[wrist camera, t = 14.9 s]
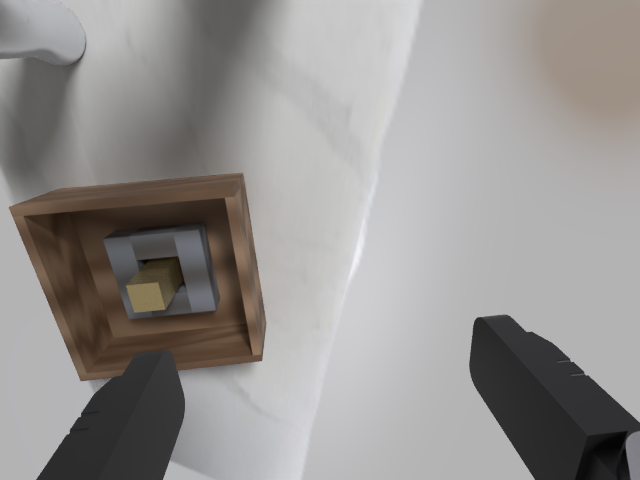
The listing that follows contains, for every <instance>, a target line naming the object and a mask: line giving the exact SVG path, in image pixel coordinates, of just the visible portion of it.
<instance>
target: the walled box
mask: <svg viewBox="0 0 640 480" xmlns="http://www.w3.org/2000/svg"><path fill="white" fill-rule="evenodd" d="M9 209H10V211H11V214H12V216H13V219H14V221H15V224H16V226H17V228H18V231H19V233H20V236H21V238H22V241H23V243H24V245H25V248H26V250H27V253H28V255H29V257H30V260H31V262H32V265H33V267H34V269H35V272H36V274H37V277H38V279H39V281H40V284H41V286H42V289H43V291H44V293H45V296H46V298H47V301H48V303H49V306H50V308H51V310H52V313H53V315H54V318H55V320H56V322H57V325H58V327H59V330H60V332H61V334H62V337H63V339H64V342H65V344H66V347H67V349H68V351H69V354H70V356H71V358H72V361H73V363H74V366H75V368H76V370H77V373H78V375H79V378H80V380H81V381H87V380H96V379H105V378H113V377H115V376H122V375H123V373H124V371H125V370H126V368H127V367H128V365H129V363H130V362H131V360H132V359H133V357H134V356H135V355H136V354H137V353H143V352H152V351H161V350H170V351H171V353H172V355H173V357H174V361H175V364H176V368H177V370H186V369H195V368H204V367H213V366H221V365H230V364H239V363H248V362H257V361H262V357H263V348H264V339H265V330H266V318H265V312H264V305H263V299H262V292H261V286H260V279H259V273H258V266H257V260H256V253H255V247H254V240H253V234H252V227H251V221H250V214H249V208H248V201H247V195H246V188H245V182H244V175H243V173H237V174H225V175H214V176H202V177H191V178H179V179H168V180H156V181H145V182H133V183H122V184H110V185H98V186H87V187H75V188H64V189H57V190H55V191H52V192H49V193H46V194H44V195H41V196H38V197H35V198H33V199H30V200H27V201H24V202H22V203H19V204H16V205H13V206H11V207H9ZM173 256H179V260H180V264H181V268H182V272H183V276H184V280H183V282H182V283H181V285H180V287H179V288H178V290H177V291H176V293H175V295H174V296H173V298H172V300H171V301H170V303H169V305H168V306H167V308H166V309H165V310H156V311H146V312H136V313H134V310H133V307H132V304H131V301H130V298H129V294H128V291H127V288H126V285H127V284H128V283H129V282H130V280H131V279H132V278H133V277H134V276H135V275H136V274H137V273H138V272H139V271H140V269H141V268H142V267H143V266H144V265H145V264H146V263H147V262H148V261H149V260H150V259H152V258H163V257H173Z"/></svg>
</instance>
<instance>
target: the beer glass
mask: <svg viewBox="0 0 640 480" xmlns="http://www.w3.org/2000/svg"><path fill="white" fill-rule="evenodd" d="M85 44H86V38H85V32H84V29H83V26H82V24H81V22H80V20H79V19H78V17H77V16H76V15H75V13H74V12H73V11H72V10H71V9H70V8H68V7H67V6H66V5H64V4H63V3H61V2H59V1H56V0H0V59H16V58H25V57H37V58H39V59H41V60H43V61H45V62H47V63H50V64H53V65H58V66H65V65H70V64H72V63H74V62H76V61H77V60H78V59H79V58H80V57H81V56H82V54H83V52H84V49H85Z"/></svg>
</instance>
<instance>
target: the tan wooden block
mask: <svg viewBox="0 0 640 480" xmlns="http://www.w3.org/2000/svg"><path fill="white" fill-rule="evenodd" d="M183 280H184V276H183V272H182V268H181V264H180V260H179V256H173V257H163V258H152V259H150V260H149V261H148V262H147V263H146V264H145V265H144V266H143V267H142V268H141V269H140V271H139V272H138V273H137V274H136V275H135V276H134V277H133V278H132V279H131V280H130V282H129V283H128V284H127V285H126V288H127V291H128V294H129V298H130V301H131V304H132V307H133V310H134V313H136V312H146V311H156V310H165V309H166V308H167V306H168V305H169V303H170V301H171V300H172V298H173V296H174V295H175V293H176V291H177V290H178V288H179V287H180V285H181V283H182V282H183Z"/></svg>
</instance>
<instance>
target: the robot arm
mask: <svg viewBox="0 0 640 480" xmlns="http://www.w3.org/2000/svg"><path fill="white" fill-rule="evenodd" d="M469 366H470V373H471V378H472V381H473V383H474V386H475V387H476V389H477V391H478V392H479V394H480V395H481V397H482V398H483V400H484V402H485V403H486V405H487V406H488V408H489V409H490V411H491V412H492V414H493V415H494V417H495V418H496V420H497V421H498V423H499V425H500V426H501V427H502V429H503V431H504V432H505V434H506V435H507V437H508V438H509V440H510V441H511V443H512V444H513V446H514V448H515V449H516V451H517V452H518V454H519V455H520V457H521V459H522V460H523V461H524V463H525V465H526V466H527V468H528V469H529V471H530V472H531V474H532V475H533V477H534V479H535V480H640V423H639V422H638V421H637V420H636V419H635V418H634V417H633V416H632V415H631V414H630V413H628V412H627V411H626V410H625V409H624V408H623V407H622V406H621V405H620V404H619V403H618V402H616V401H615V400H614V399H613V398H612V397H611V396H610V395H609V394H608V393H607V392H606V391H604V390H603V389H602V388H601V387H600V386H599V385H598V384H597V383H596V382H595V381H594V380H592V379H591V378H590V377H589V376H586V375H585V374H584V371H583V370H582V369H580V368H579V367H578V366H577V365H576V364H575V363H574V362H571V361H570V358H568V357H567V356H566V355H565V354H564V353H563V352H562V351H561V350H560V349H559V348H558V347H556V346H555V345H554V344H553V343H551V342H549V341H548V340H546V339H544V338H542V337H540V336H538V335H537V334H535V333H533V332H526V331H524V329H523V328H522V327H521V326H520V325H519V324H518V323H516V321H515V320H513V319H512V318H511V317H510V316H508V315H497V316H488V317H478V318H476V320H475V322H474V326H473V336H472V344H471V353H470V364H469ZM184 412H185V398H184V393H183V389H182V386H181V382H180V379H179V375H178V372H177V368H176V364H175V361H174V357H173V355H172V353H171V351H170V350H161V351H152V352H143V353H137V354H136V355H135V356H134V357H133V359H132V360H131V362H130V363H129V365H128V367H127V368H126V370H125V371H124V373H123V375H122V376H115V377H113V378H112V379H111V380H110V381H109V382H107V383H106V384H105V385H104V386H103V387H102V388H101V389H99V390H98V391H97V392H96V393H95V394H94V395H93V397H92V398H91V400H90V401H89V403H88V404H87V406H86V407H85V409H84V410H83V412H82V413H81V417H79V418H78V419H77V420H76V422H75V424H74V425H73V426H72V428H71V429H70V434H69V435H66V437H65V438H64V440H63V441H62V443H61V444H60V445H59V447H58V449H57V450H56V451H55V453H54V454H53V456H52V458H51V459H50V460H49V462H48V463H47V465H46V466H45V468H44V469H43V471H42V472H41V474H40V475H39V476H38V478H37V479H36V480H163V478H164V475H165V472H166V469H167V466H168V463H169V460H170V457H171V454H172V451H173V448H174V446H175V443H176V440H177V437H178V434H179V431H180V428H181V425H182V422H183V418H184Z"/></svg>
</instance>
